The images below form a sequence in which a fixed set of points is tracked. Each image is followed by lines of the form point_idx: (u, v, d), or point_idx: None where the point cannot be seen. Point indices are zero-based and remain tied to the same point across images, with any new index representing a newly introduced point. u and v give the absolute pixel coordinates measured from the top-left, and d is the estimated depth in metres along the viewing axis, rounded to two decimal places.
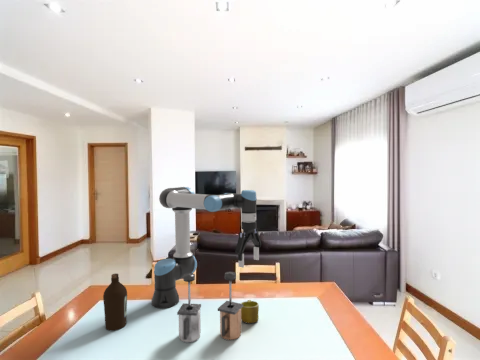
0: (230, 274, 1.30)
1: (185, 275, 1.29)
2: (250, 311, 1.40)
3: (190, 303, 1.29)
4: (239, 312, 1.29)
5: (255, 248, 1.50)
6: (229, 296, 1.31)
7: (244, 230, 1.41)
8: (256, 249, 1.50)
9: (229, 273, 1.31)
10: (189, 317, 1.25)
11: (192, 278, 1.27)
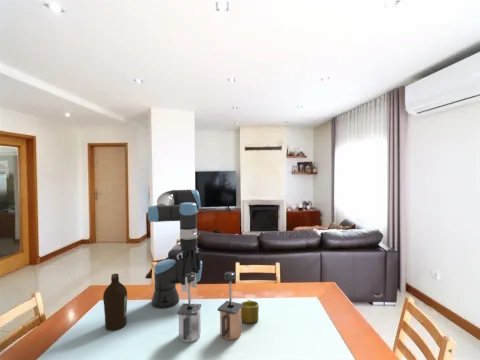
0: (230, 274, 1.30)
1: None
2: (250, 311, 1.40)
3: (190, 303, 1.29)
4: (239, 312, 1.29)
5: None
6: (229, 296, 1.31)
7: (182, 248, 1.26)
8: None
9: (229, 273, 1.31)
10: (189, 317, 1.25)
11: (192, 278, 1.27)
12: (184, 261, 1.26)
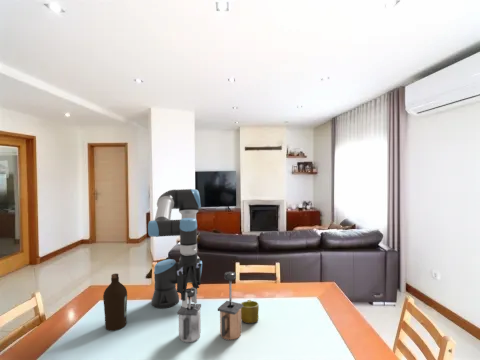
0: (230, 274, 1.30)
1: None
2: (250, 311, 1.40)
3: None
4: (239, 312, 1.29)
5: None
6: (229, 296, 1.31)
7: (182, 264, 1.26)
8: None
9: (229, 273, 1.31)
10: (189, 317, 1.25)
11: (192, 294, 1.28)
12: (184, 277, 1.27)
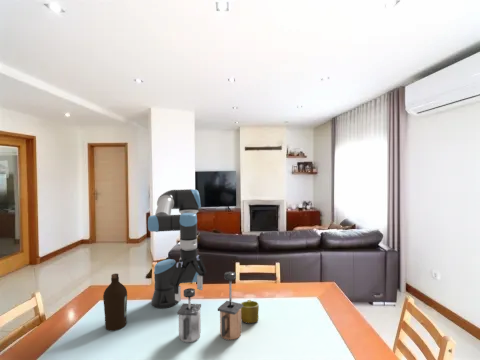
0: (230, 274, 1.30)
1: (185, 290, 1.29)
2: (250, 311, 1.40)
3: None
4: (239, 312, 1.29)
5: (198, 277, 1.35)
6: (229, 296, 1.31)
7: (182, 259, 1.26)
8: (199, 278, 1.34)
9: (229, 273, 1.31)
10: (189, 317, 1.25)
11: (192, 294, 1.28)
12: (182, 270, 1.26)
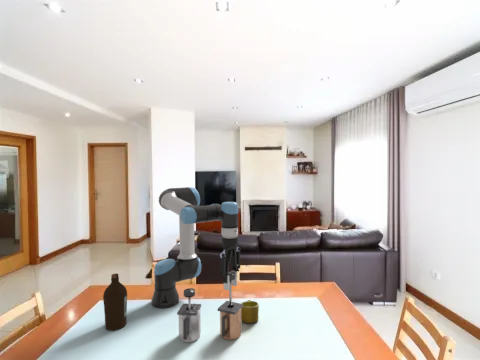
0: (230, 274, 1.30)
1: (185, 290, 1.29)
2: (250, 311, 1.40)
3: None
4: (239, 312, 1.29)
5: None
6: (229, 296, 1.31)
7: (224, 247, 1.27)
8: None
9: (229, 273, 1.31)
10: (189, 317, 1.25)
11: (192, 294, 1.28)
12: (226, 260, 1.28)
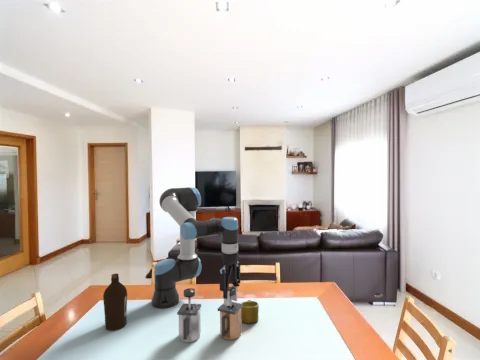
0: (230, 289, 1.30)
1: (185, 290, 1.29)
2: (250, 311, 1.40)
3: None
4: (239, 312, 1.29)
5: None
6: None
7: (224, 262, 1.27)
8: None
9: (229, 288, 1.31)
10: (189, 317, 1.25)
11: (192, 294, 1.28)
12: (226, 275, 1.28)
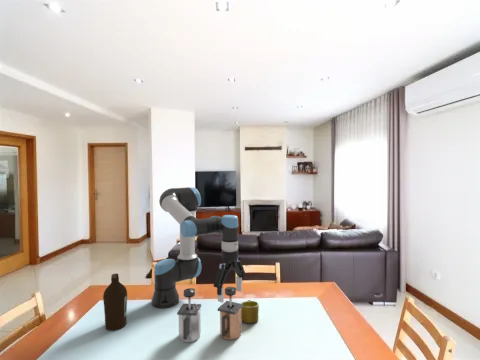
0: (230, 289, 1.30)
1: (185, 290, 1.29)
2: (250, 311, 1.40)
3: None
4: (239, 312, 1.29)
5: (238, 278, 1.36)
6: None
7: (224, 260, 1.27)
8: (239, 279, 1.36)
9: (229, 288, 1.31)
10: (189, 317, 1.25)
11: (192, 294, 1.28)
12: (224, 272, 1.27)
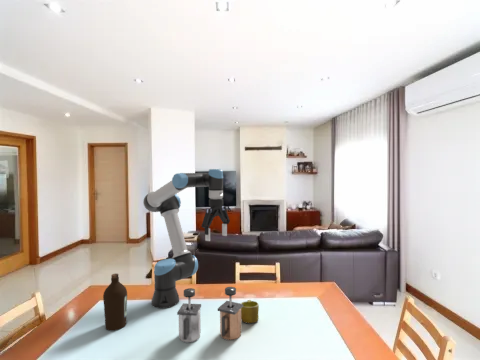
0: (230, 289, 1.30)
1: (185, 290, 1.29)
2: (250, 311, 1.40)
3: None
4: (239, 312, 1.29)
5: (223, 225, 1.58)
6: None
7: (211, 206, 1.50)
8: (224, 226, 1.58)
9: (229, 288, 1.31)
10: (189, 317, 1.25)
11: (192, 294, 1.28)
12: (211, 216, 1.49)
